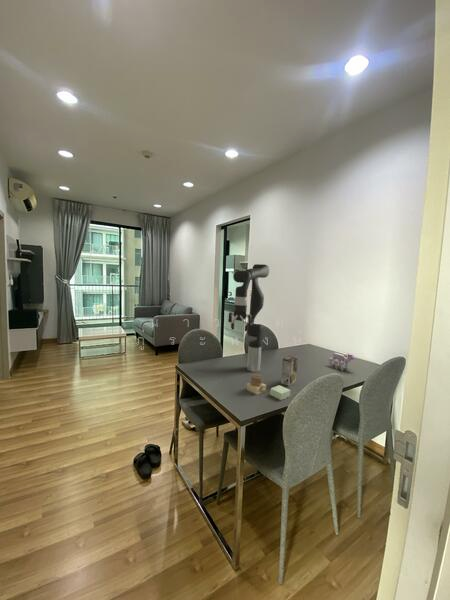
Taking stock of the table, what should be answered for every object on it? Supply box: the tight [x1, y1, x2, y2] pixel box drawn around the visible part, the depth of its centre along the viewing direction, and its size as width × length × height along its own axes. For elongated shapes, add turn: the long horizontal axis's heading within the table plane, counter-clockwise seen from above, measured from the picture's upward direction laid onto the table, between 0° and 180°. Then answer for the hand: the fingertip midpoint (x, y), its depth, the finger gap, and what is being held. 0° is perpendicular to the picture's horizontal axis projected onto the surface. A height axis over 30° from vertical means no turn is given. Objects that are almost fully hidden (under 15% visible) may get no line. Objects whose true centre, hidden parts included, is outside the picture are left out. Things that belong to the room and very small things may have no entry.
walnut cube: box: [251, 373, 263, 387], centre depth 154 cm, size 5×5×5 cm
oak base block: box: [246, 382, 267, 395], centre depth 154 cm, size 8×8×4 cm
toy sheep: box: [328, 352, 357, 372], centre depth 198 cm, size 20×11×14 cm, turn 35°
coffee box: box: [280, 355, 298, 387], centre depth 167 cm, size 9×6×16 cm
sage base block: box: [269, 384, 291, 401], centre depth 149 cm, size 8×8×4 cm
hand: (239, 330), depth 160 cm, fingers open, 8 cm apart
